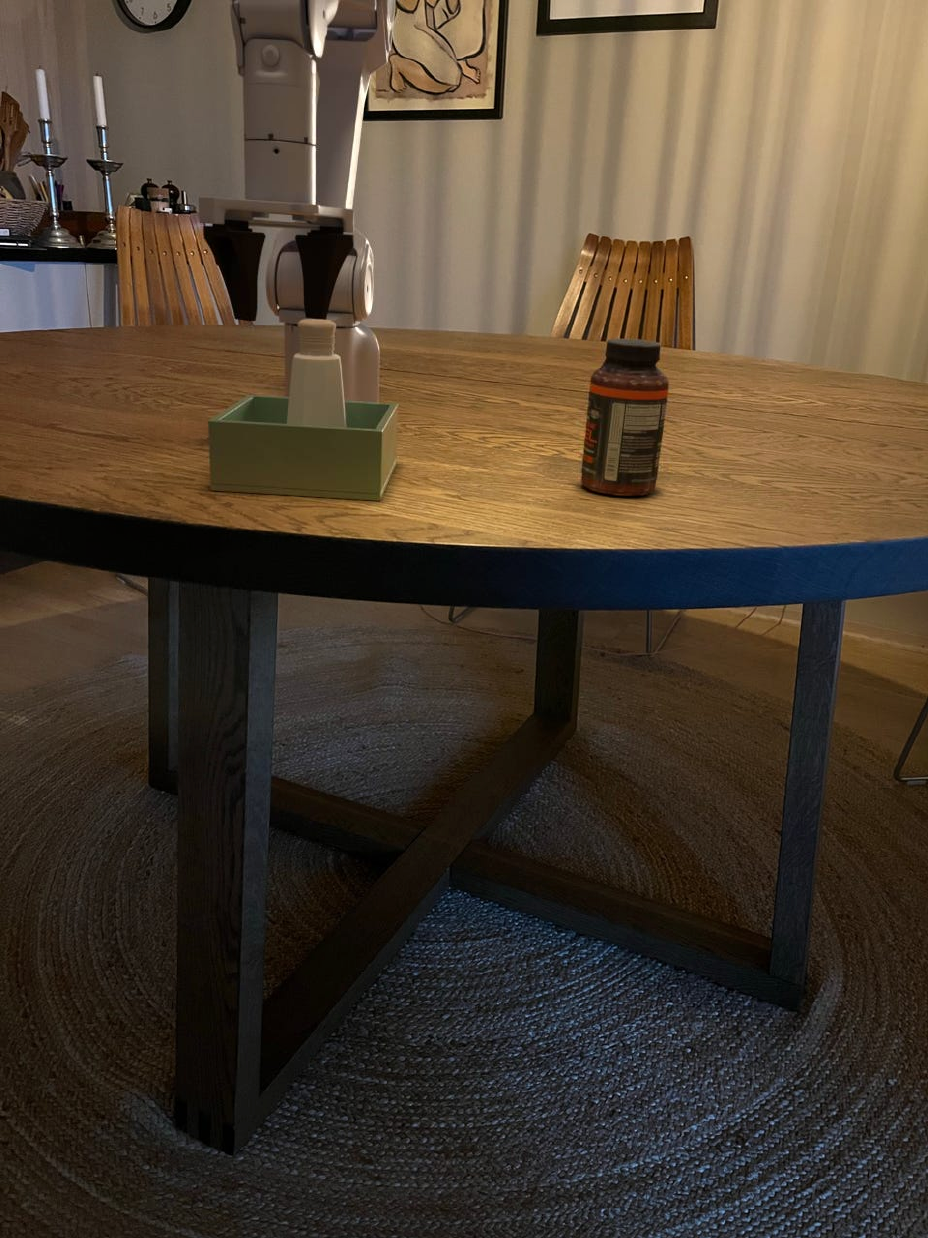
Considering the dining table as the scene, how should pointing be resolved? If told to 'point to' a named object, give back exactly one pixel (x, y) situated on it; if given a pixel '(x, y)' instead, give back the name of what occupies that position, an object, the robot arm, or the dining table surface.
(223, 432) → the storage bin
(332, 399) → the pepper shaker
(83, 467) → the dining table surface
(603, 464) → the supplement bottle
